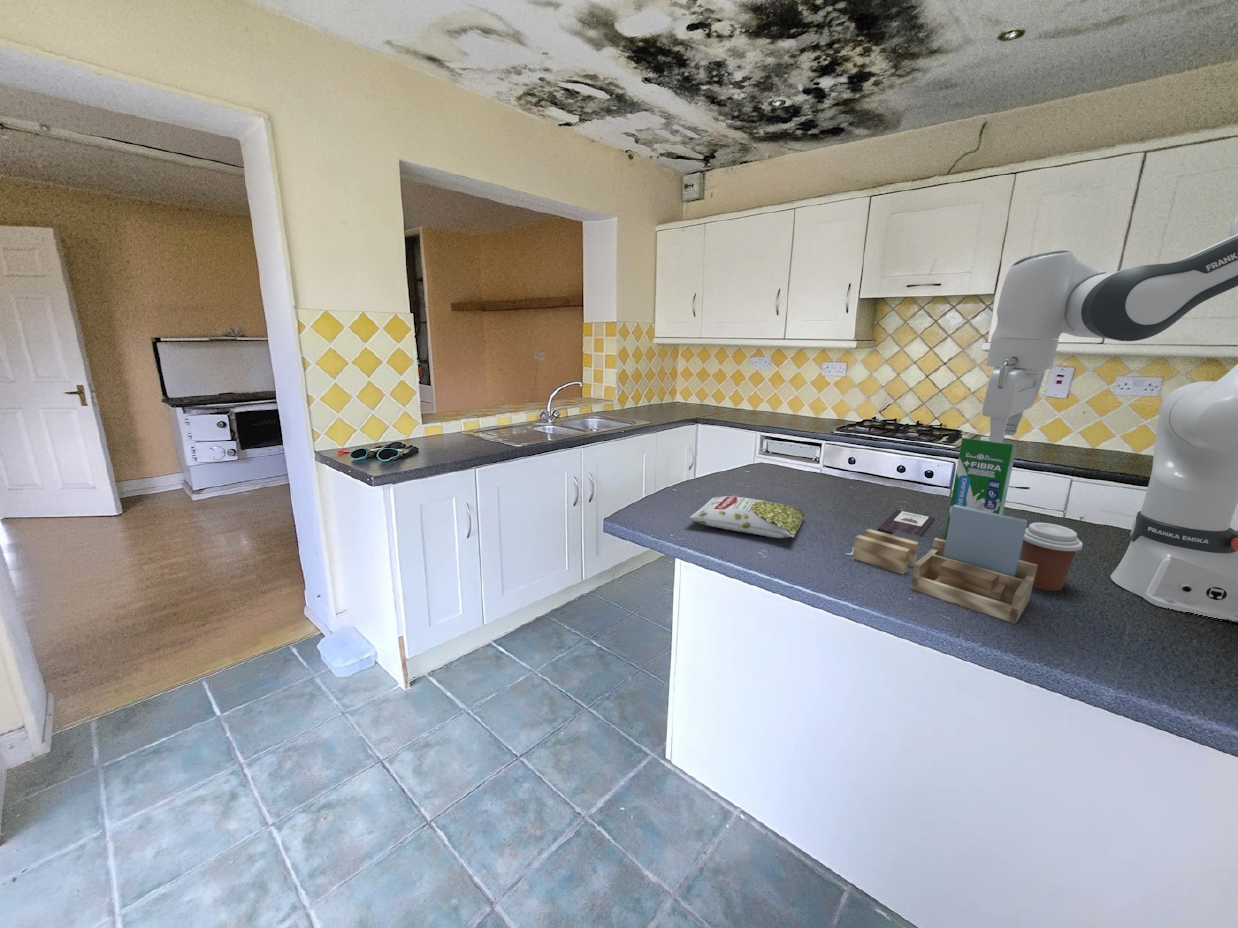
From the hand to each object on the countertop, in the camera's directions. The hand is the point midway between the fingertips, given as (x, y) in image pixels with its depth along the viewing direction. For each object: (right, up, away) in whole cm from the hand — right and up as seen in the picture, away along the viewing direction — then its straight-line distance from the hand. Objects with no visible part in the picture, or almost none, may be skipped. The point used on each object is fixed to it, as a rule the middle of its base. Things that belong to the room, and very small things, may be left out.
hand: (1002, 438), depth 88 cm
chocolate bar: (+6, -21, +41) cm, 46 cm away
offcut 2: (-3, -27, +3) cm, 27 cm away
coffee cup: (+14, -28, +10) cm, 33 cm away
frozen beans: (-34, -20, +40) cm, 57 cm away
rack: (-3, -29, +5) cm, 30 cm away
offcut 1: (-4, -25, +3) cm, 26 cm away
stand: (-11, -26, +18) cm, 34 cm away
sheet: (0, -28, +7) cm, 29 cm away
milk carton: (+15, -23, +30) cm, 41 cm away
